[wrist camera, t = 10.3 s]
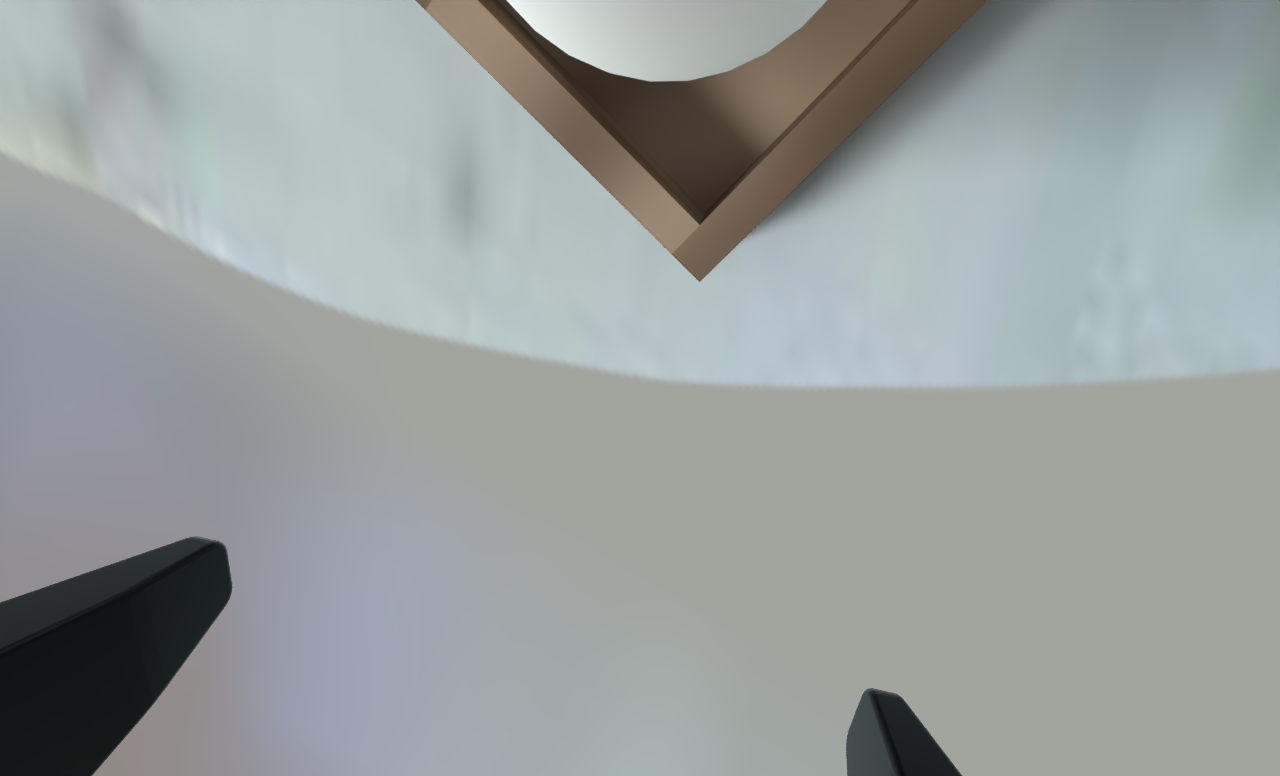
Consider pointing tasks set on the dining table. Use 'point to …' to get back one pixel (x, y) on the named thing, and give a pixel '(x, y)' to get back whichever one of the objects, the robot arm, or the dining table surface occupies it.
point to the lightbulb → (666, 32)
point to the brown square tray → (710, 111)
